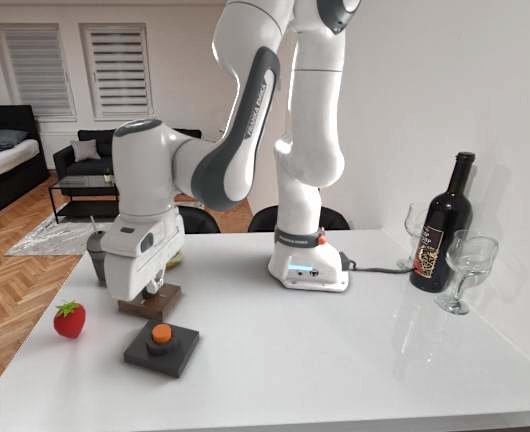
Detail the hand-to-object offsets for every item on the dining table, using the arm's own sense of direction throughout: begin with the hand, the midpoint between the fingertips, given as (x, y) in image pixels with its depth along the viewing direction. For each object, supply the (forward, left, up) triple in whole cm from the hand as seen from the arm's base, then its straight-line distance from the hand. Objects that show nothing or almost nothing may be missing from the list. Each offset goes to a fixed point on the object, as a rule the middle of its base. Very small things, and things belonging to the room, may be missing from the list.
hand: (155, 288), depth 56 cm
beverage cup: (+26, -16, -16) cm, 34 cm away
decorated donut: (+16, -30, -16) cm, 38 cm away
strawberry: (+20, +3, -16) cm, 26 cm away
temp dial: (+10, -12, -13) cm, 20 cm away
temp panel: (+10, -12, -16) cm, 22 cm away
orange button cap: (0, 0, -12) cm, 12 cm away
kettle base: (0, 0, -16) cm, 16 cm away
